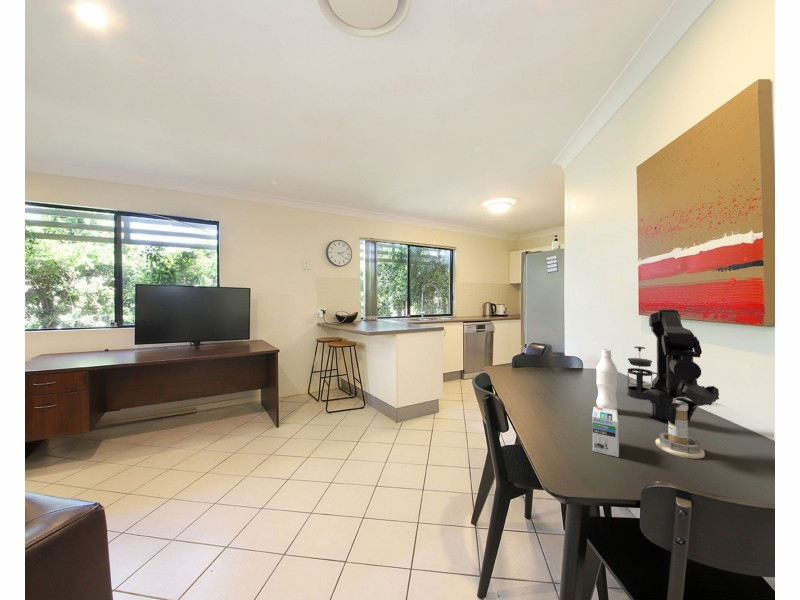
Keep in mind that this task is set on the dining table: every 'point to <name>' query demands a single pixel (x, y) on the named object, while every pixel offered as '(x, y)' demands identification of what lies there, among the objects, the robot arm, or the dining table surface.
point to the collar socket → (680, 447)
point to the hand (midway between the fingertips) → (679, 423)
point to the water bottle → (606, 381)
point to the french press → (639, 376)
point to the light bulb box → (605, 431)
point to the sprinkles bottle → (679, 425)
